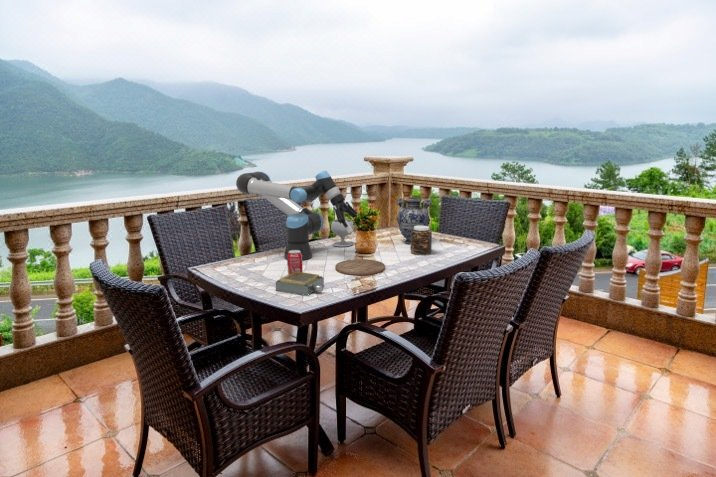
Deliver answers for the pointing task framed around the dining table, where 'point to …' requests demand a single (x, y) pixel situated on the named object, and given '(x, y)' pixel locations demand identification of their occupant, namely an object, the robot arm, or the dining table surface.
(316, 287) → the grey framed box
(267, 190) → the robot arm
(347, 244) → the chalice
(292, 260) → the soda can
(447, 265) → the dining table surface
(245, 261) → the dining table surface
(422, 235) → the jar
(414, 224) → the decorative vase
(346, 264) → the trivet
